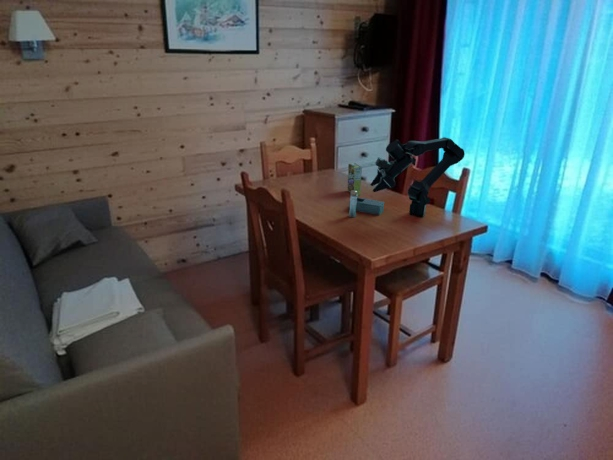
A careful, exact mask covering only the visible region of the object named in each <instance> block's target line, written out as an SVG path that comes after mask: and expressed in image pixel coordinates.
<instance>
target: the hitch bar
mask: <svg viewBox="0 0 613 460" xmlns="http://www.w3.org/2000/svg"><path fill="white" fill-rule="evenodd" d="M348 204H349V205H348V206H349V207H348V211H350V202H349V203H348ZM384 208H385V201H382V200H381V201H380V200H376V199H375V200H374V199H369V198H364V197H359V196H357V206H356V212H359V213H365V214H369V215H370V214H371V215H376V216H380V215H381V214H382V213H383V212H384V210H385V209H384Z"/></svg>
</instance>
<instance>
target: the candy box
mask: <svg viewBox="0 0 613 460" xmlns="http://www.w3.org/2000/svg"><path fill="white" fill-rule="evenodd" d="M362 169H363V167H362V166H360V165H359V164H357V163H355V162H353V163H352V162H350V163H348V169H347V192H349V193H350V194H351V190H356V191H358V193H357V196H360V195H361V187H362V186H361V185H362Z"/></svg>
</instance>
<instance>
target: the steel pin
mask: <svg viewBox="0 0 613 460" xmlns="http://www.w3.org/2000/svg"><path fill="white" fill-rule="evenodd" d="M357 193H358V191H356V190H351V193H350V199H349V203H350V210H348V211H349V214H348V216H349V217H351V218H356V217H357V211H356V206H357V197H358V195H357Z"/></svg>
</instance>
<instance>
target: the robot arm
mask: <svg viewBox="0 0 613 460" xmlns="http://www.w3.org/2000/svg"><path fill="white" fill-rule="evenodd" d="M440 149H442V150H443V151H444V152H443V154H442V158H441V159H440V161H439V162H438V163H437V164H436V165H435V166H434V167H432V169H431V170H430V172H429V171H428V173H427V174H426V175H425V176H424V177H423V179H421V180H420V181H419V180H414V181H413V183H412V184H411V185H409V187H408V189H407V196H408V199H409V201H411V202H410V204H409V212H408V213H409V214H408V215H410V216H414V217H420V218H423V217H424V216H425V215H426V214H425V213H426V207H427V205H429V204H430V201H431V198H430V197H429V196H428V195H429V193H430V188H431V187H432V186H433V185H434V184H435V183H436V182H437V181H438V180H439V178H441V176H442V175H444V173H445V172H446V171H447V170H448V169H449V168H450V167H452V166H454V165H457V164H458V163H460V162H461V161H462V160H463V159H464V157H465V154H466V153H465V150H464V148H461V147H460V146H459V145H458V144H457V143H455V141H454V140H453V139H452V138H448V137H446V136H443V137H442V138H436V139H430V140H429V139H428V140H424V141H421V140H420V141H418V140H409V141H407V142H406V143H404V144H402V142H401V141H400V140H399V139H395V140H394V141H392V142H389V144H387V146H386V148H385V151H386V153H388V155H389V156H390V157H391V158H392V159H393V160H391V161H388V160H386V159H383V158H382V157H377V160H376V161H375V163H374V164H375V166H376V167H377V172H376V175H375V177H374V178H373V180H372V182H371V183H370V186H371V187H374V188H373V189H372V192H373V193H377V192H380V191H383V190H386V189H393V188H395V186H396V184H397V183H396V181H395V179H396V177H397V176H398V175H399V174H400V175H402V173H403V171H404V170H405V169H407V168H408V167H409V166H410V165H411V164H412V165H413V166H416V162H417V159H416V158H415V157H420V156H422V155H424V154H425V153H426V152H429V151H434V150H440ZM412 156H414V157H412Z"/></svg>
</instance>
